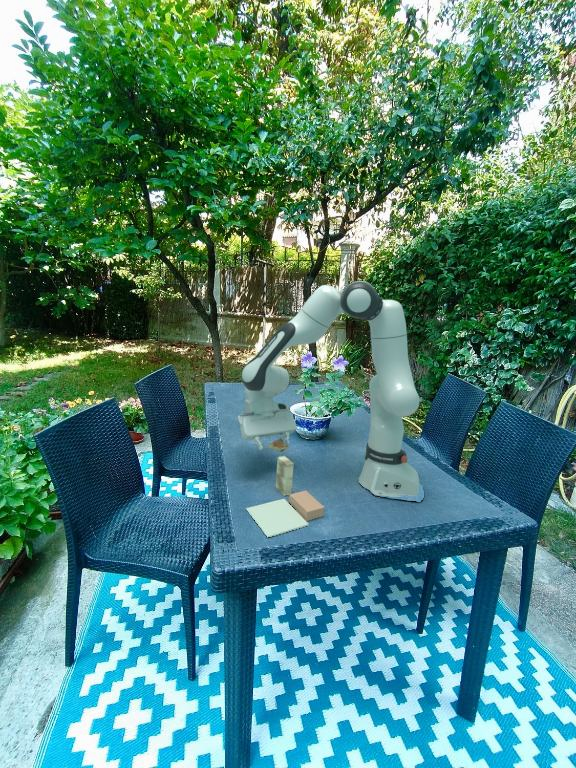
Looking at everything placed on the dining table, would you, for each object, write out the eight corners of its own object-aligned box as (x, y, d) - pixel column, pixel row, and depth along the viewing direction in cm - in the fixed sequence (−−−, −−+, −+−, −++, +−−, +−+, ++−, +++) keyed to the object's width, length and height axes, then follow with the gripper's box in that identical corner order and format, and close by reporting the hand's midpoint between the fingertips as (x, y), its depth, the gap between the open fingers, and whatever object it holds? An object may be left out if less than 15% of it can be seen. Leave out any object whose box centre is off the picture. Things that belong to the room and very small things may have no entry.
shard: (280, 440, 158) (280, 437, 157) (295, 445, 154) (295, 441, 154) (267, 448, 148) (267, 444, 148) (283, 453, 145) (283, 449, 145)
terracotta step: (288, 503, 109) (289, 494, 108) (305, 498, 112) (305, 490, 111) (306, 521, 101) (307, 512, 100) (323, 516, 104) (324, 507, 103)
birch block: (275, 487, 118) (277, 457, 115) (282, 485, 119) (284, 455, 116) (284, 496, 113) (286, 464, 110) (291, 494, 114) (293, 463, 111)
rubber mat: (245, 510, 104) (245, 508, 104) (284, 500, 110) (284, 498, 110) (267, 538, 92) (267, 536, 92) (308, 525, 99) (308, 524, 99)
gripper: (239, 409, 118) (249, 448, 112) (291, 404, 128) (303, 439, 122) (233, 418, 122) (243, 455, 116) (284, 412, 133) (296, 446, 127)
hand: (274, 447), depth 119 cm, fingers open, 8 cm apart
